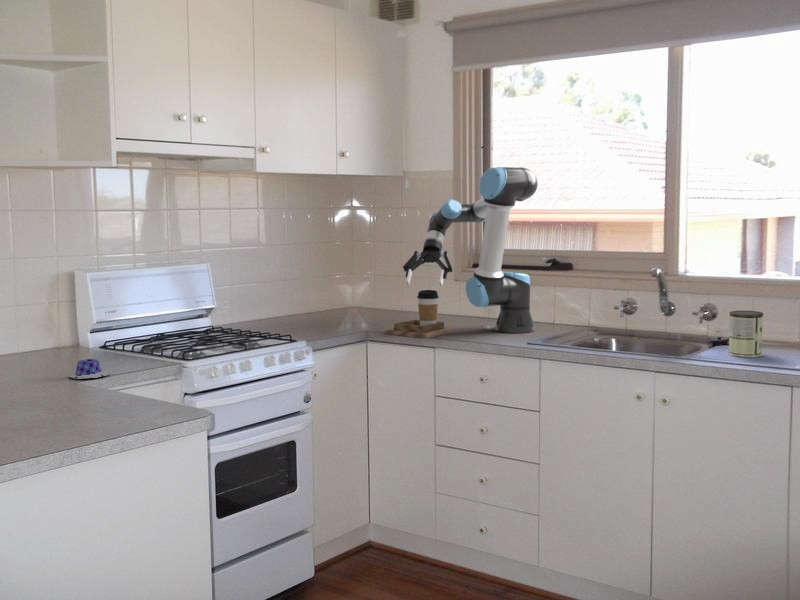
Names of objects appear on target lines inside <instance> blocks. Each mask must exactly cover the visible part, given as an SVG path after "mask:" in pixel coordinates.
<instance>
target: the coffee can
mask: <svg viewBox="0 0 800 600" xmlns="http://www.w3.org/2000/svg"><path fill="white" fill-rule="evenodd" d="M763 316H764V312H761V311H757V310H732V311H729V339H728V355H729V356H732V355H733V356H732V357H737V356H741V357H740V358H758V357H759V356H760V357H761V356H763V355H762V353H763V351H762V350H763V349H762V346H763V322H764V321H763V318H764V317H763Z"/></svg>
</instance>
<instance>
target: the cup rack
mask: <svg viewBox="0 0 800 600" xmlns="http://www.w3.org/2000/svg"><path fill="white" fill-rule="evenodd" d="M451 333H454V328H452V327H445V322H444V321H436V323H435V324H430V325H425V326H420V319H412V320H406V321H401V322H396V323H394V324H393V328H389V329H384V334H385V335H391V336H392V335H394V336H402V337H413V338H422V339H429V338H434V337H439V336H443V335H447V334H451Z"/></svg>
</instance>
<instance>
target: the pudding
mask: <svg viewBox="0 0 800 600" xmlns="http://www.w3.org/2000/svg"><path fill="white" fill-rule="evenodd" d="M76 364H77V365H76V368H75V369H76V370H75V375H77V376H81V375H90V374H95V373H98V372H101V371H102V367H101V365H100V362H99V360H98V359H94V358H87V359H81V360H79V361H77V363H76Z"/></svg>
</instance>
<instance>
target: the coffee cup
mask: <svg viewBox="0 0 800 600" xmlns="http://www.w3.org/2000/svg"><path fill="white" fill-rule="evenodd" d="M417 294H418V295H417V296H416V298H417V300H418V301H417V302H418V304H417V305H418V314H419V315H418V316H419V320H420V326H425V325H430V324H435V323H436V322H437V316H438V306H439V304H438V300H439V298H440V297H439V295H438V294H439V293H438V291H437V290H432V289H423V290H422V289H421V290H419V291H418V293H417Z"/></svg>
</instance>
